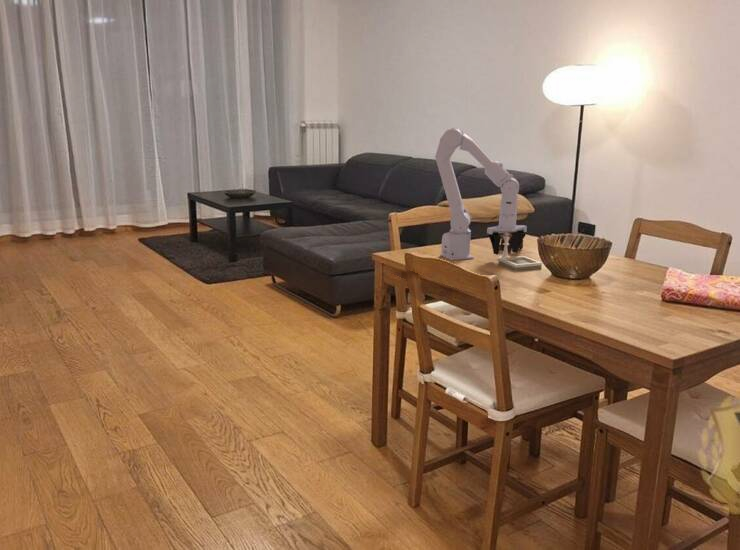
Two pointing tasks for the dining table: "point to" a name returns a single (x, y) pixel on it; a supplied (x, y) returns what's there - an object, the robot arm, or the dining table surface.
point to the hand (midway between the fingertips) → (505, 253)
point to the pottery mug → (510, 241)
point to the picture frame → (520, 263)
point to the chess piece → (505, 252)
